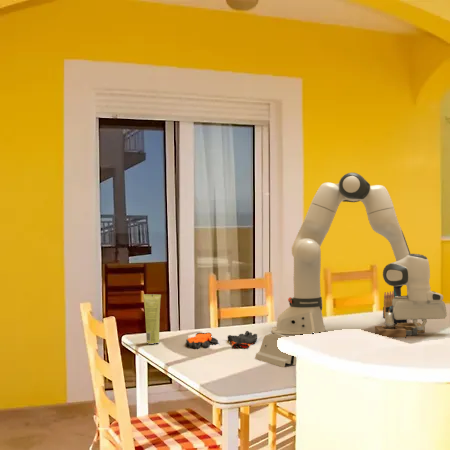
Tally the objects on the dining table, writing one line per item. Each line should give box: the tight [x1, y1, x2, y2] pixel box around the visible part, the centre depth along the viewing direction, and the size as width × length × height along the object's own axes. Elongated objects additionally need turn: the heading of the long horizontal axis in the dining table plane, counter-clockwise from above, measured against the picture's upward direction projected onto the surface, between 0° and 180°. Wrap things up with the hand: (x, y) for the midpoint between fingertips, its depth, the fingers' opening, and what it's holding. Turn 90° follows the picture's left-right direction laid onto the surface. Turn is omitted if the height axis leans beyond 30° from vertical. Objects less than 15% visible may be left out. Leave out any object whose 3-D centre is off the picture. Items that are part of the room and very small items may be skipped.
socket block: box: [374, 324, 407, 339], centre depth 245 cm, size 10×10×3 cm
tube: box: [142, 293, 162, 343], centre depth 245 cm, size 6×5×20 cm
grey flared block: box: [254, 333, 297, 368], centre depth 208 cm, size 17×5×10 cm, turn 32°
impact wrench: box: [389, 285, 408, 325], centre depth 274 cm, size 8×23×25 cm, turn 174°
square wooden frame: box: [396, 322, 426, 334], centre depth 253 cm, size 9×9×2 cm
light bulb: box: [384, 312, 395, 329], centre depth 245 cm, size 3×3×9 cm
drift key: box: [406, 327, 418, 336], centre depth 244 cm, size 9×4×3 cm, turn 86°
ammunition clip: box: [382, 291, 394, 319], centre depth 289 cm, size 11×2×12 cm, turn 124°
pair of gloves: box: [185, 330, 258, 350], centre depth 243 cm, size 27×24×3 cm
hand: (419, 330), depth 244 cm, fingers closed
